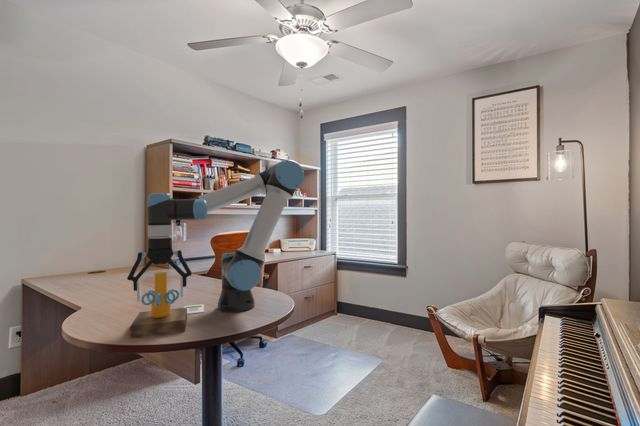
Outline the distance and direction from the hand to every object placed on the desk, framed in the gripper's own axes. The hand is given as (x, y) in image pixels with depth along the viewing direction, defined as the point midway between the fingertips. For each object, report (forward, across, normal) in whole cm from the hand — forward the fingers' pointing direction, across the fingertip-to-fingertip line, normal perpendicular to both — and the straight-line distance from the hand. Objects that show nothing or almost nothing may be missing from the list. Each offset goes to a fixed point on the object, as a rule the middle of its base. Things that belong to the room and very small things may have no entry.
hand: (160, 298), depth 116 cm
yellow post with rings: (+6, 0, 0) cm, 6 cm away
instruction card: (+10, -10, -19) cm, 24 cm away
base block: (+10, 0, 0) cm, 10 cm away
